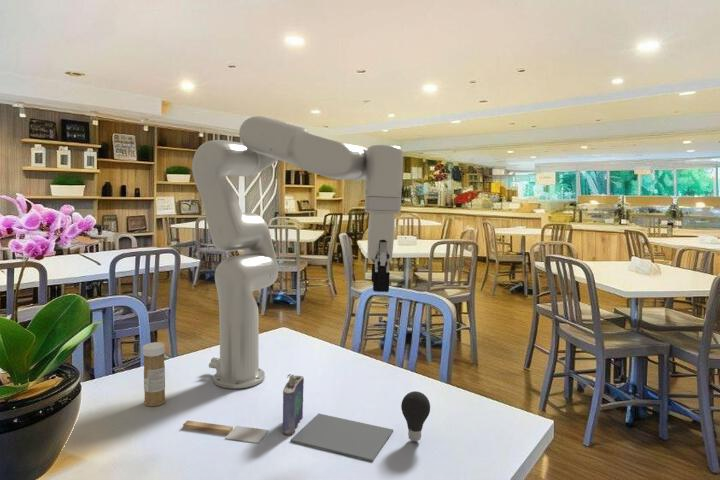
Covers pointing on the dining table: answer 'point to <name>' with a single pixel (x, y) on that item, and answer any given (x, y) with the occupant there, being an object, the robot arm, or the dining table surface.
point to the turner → (229, 431)
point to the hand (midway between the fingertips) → (379, 286)
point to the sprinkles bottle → (154, 373)
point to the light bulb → (415, 413)
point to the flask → (292, 404)
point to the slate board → (343, 436)
